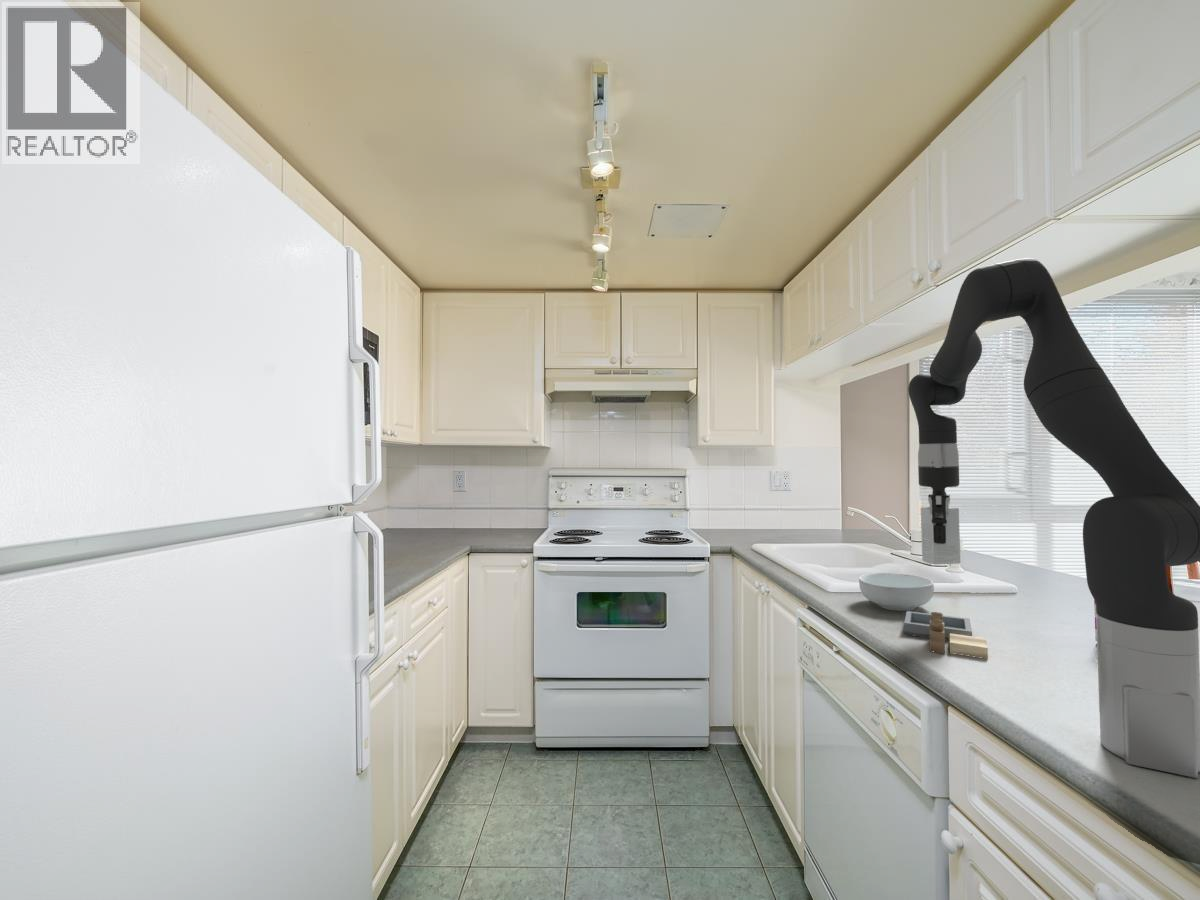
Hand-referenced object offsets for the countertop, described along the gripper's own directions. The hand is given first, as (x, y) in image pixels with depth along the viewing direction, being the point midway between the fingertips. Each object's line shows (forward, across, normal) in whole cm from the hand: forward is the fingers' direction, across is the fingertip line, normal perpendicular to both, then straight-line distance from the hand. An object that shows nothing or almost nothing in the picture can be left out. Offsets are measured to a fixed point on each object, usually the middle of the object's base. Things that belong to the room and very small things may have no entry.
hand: (940, 540), depth 117 cm
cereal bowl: (+20, -18, -10) cm, 29 cm away
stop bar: (+20, +10, -1) cm, 22 cm away
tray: (+20, 0, -1) cm, 20 cm away
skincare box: (+5, 0, 0) cm, 5 cm away
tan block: (+20, +10, +4) cm, 23 cm away
